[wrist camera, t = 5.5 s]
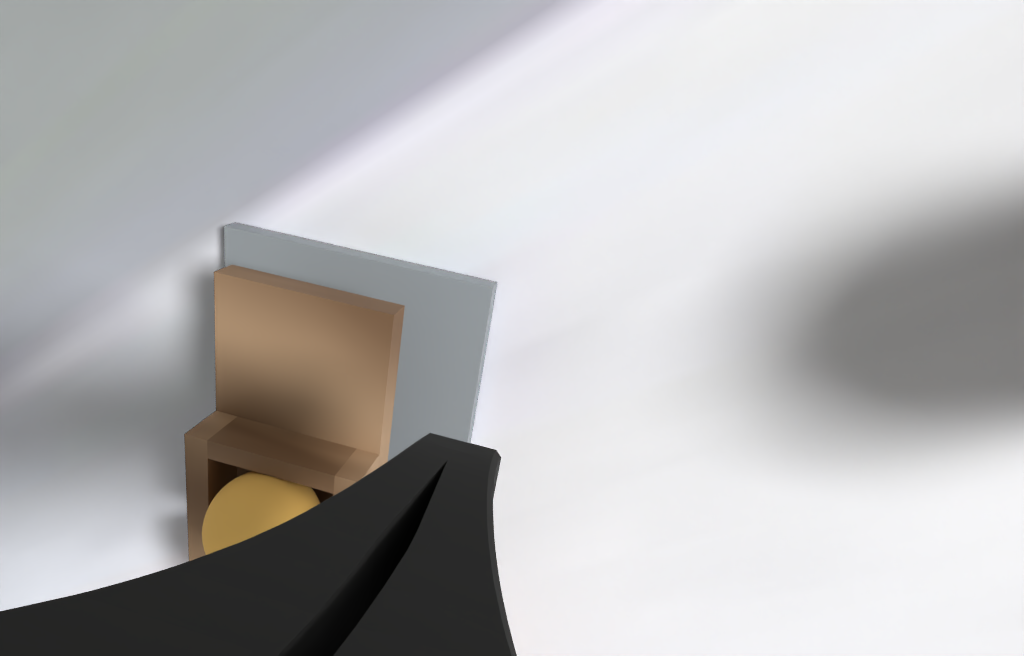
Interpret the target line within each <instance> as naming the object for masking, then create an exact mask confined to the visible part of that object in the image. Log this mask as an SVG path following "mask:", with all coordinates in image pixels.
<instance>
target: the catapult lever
mask: <svg viewBox="0 0 1024 656" xmlns="http://www.w3.org/2000/svg"><path fill="white" fill-rule="evenodd" d="M214 297H215V370H216V411H215V412H214V413H212V414H211V415H210V416H208V417H207V418H206V419H204V420H203V421H201V422H200V423H199V424H197V425H196V426H195V427H193V428H192V429H191V430H189V431H188V432H187V433H185V434H184V436H185V464H186V491H187V519H188V546H189V561H191V560H194V559H197V558H199V557H202V556H205V555H206V554H205V551H204V547H203V542H202V526H203V521H204V518H205V514H206V512H207V509H208V507H209V505H210V503H211V502H212V500H213V499H214V497H215V496H216V495H217V493H218V492H219V491H220V490H221V489H222V488H223V487H224V486H225V485H227V484H228V483H229V482H230V481H232V480H233V479H235V478H237V477H239V476H241V475H243V474H245V473H248V472H251V471H254V472H258V473H261V474H265V475H268V476H272V477H276V478H279V479H283V480H286V481H290V482H293V483H297V484H300V485H304V486H308V487H311V488H312V489H313V490H314V492H315V493H316V495H317V497H318V499H319V501H320V503H322V502H323V501H325V500H327V499H329V498H330V497H332V496H334V495H336V494H337V493H339V492H341V491H343V490H344V489H346V488H348V487H349V486H351V485H352V484H354V483H355V482H357V481H359V480H360V479H362V478H363V477H365V476H366V475H368V474H370V473H371V472H373V471H374V470H376V469H377V468H379V467H380V466H382V465H383V464H385V463H386V462H388V453H389V444H390V435H391V426H392V417H393V408H394V399H395V390H396V381H397V372H398V363H399V354H400V345H401V336H402V327H403V318H404V308H405V305H401V304H396V303H392V302H388V301H384V300H380V299H375V298H371V297H367V296H363V295H359V294H354V293H350V292H346V291H342V290H337V289H333V288H329V287H325V286H321V285H316V284H312V283H308V282H304V281H300V280H295V279H291V278H287V277H283V276H279V275H274V274H270V273H266V272H262V271H258V270H253V269H249V268H245V267H241V266H236V265H229V266H227V267H225V268H222V269H220V270H217V271H215V272H214Z"/></svg>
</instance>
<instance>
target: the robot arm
mask: <svg viewBox="0 0 1024 656" xmlns="http://www.w3.org/2000/svg"><path fill="white" fill-rule="evenodd" d="M500 460H501V457H500V455H499V454H498V452H497V451H496V450H494V449H490V448H486V447H483V446H479V445H475V444H471V443H467V442H463V441H460V440H456V439H452V438H448V437H444V436H441V435H437V434H433V433H429V434H427V435H426V436H424V437H422V438H421V439H419V440H418V441H416V442H415V443H414V444H412V445H411V446H409V447H408V448H406V449H405V450H404V451H402V452H401V453H399V454H398V455H396V456H395V457H394V458H392V459H391V460H389V461H388V462H386V463H385V464H383V465H382V466H380V467H379V468H377V469H376V470H374V471H373V472H371V473H370V474H368V475H366V476H365V477H363V478H362V479H360V480H359V481H357V482H355V483H354V484H352V485H351V486H349V487H348V488H346V489H344V490H343V491H341V492H339V493H337V494H336V495H334V496H332V497H330V498H329V499H327V500H325V501H323V502H322V503H320V504H318V505H316V506H315V507H313V508H311V509H309V510H307V511H306V512H304V513H302V514H300V515H298V516H296V517H294V518H292V519H290V520H288V521H286V522H284V523H282V524H280V525H278V526H276V527H274V528H271V529H269V530H267V531H265V532H263V533H260V534H258V535H256V536H254V537H251V538H249V539H247V540H244V541H242V542H239V543H237V544H234V545H231V546H229V547H226V548H223V549H221V550H218V551H215V552H213V553H210V554H207V555H205V556H202V557H199V558H197V559H194V560H191V561H189V562H186V563H183V564H180V565H177V566H174V567H171V568H168V569H165V570H162V571H159V572H155V573H152V574H149V575H146V576H143V577H139V578H136V579H132V580H129V581H125V582H122V583H118V584H115V585H111V586H108V587H104V588H100V589H96V590H92V591H89V592H85V593H81V594H77V595H72V596H68V597H63V598H59V599H54V600H50V601H45V602H41V603H36V604H32V605H28V606H23V607H19V608H14V609H10V610H5V611H0V656H517V655H516V652H515V648H514V644H513V641H512V637H511V633H510V629H509V625H508V621H507V616H506V612H505V607H504V602H503V598H502V592H501V587H500V581H499V575H498V568H497V560H496V552H495V542H494V526H493V497H494V491H495V486H496V481H497V476H498V471H499V465H500Z"/></svg>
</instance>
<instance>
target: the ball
mask: <svg viewBox="0 0 1024 656" xmlns="http://www.w3.org/2000/svg"><path fill="white" fill-rule="evenodd" d="M318 504H320V501H319V499H318V497H317V495H316V493H315V492H314V490H313V489H312V488H311V487H308V486H304V485H300V484H297V483H293V482H290V481H286V480H283V479H279V478H276V477H272V476H268V475H265V474H261V473H258V472H254V471H251V472H248V473H245V474H243V475H241V476H239V477H237V478H235V479H233V480H232V481H230V482H229V483H228V484H227V485H225V486H224V487H223V488H222V489H221V490H220V491H219V492H218V493H217V495H216V496H215V497H214V499H213V500H212V502H211V503H210V505H209V507H208V509H207V512H206V514H205V518H204V521H203V526H202V542H203V547H204V551H205V554H206V555H207V554H210V553H213V552H215V551H218V550H221V549H223V548H226V547H229V546H231V545H234V544H237V543H239V542H242V541H244V540H247V539H249V538H251V537H254V536H256V535H258V534H260V533H263V532H265V531H267V530H269V529H271V528H274V527H276V526H278V525H280V524H282V523H284V522H286V521H288V520H290V519H292V518H294V517H296V516H298V515H300V514H302V513H304V512H306V511H307V510H309V509H311V508H313V507H315V506H316V505H318Z"/></svg>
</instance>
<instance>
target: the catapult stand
mask: <svg viewBox="0 0 1024 656" xmlns="http://www.w3.org/2000/svg"><path fill="white" fill-rule="evenodd" d="M224 257H225V267H227V266H229V265H236V266H241V267H245V268H249V269H253V270H258V271H262V272H266V273H270V274H274V275H279V276H283V277H287V278H291V279H295V280H300V281H304V282H308V283H312V284H316V285H321V286H325V287H329V288H333V289H337V290H342V291H346V292H350V293H354V294H359V295H363V296H367V297H371V298H375V299H380V300H384V301H388V302H392V303H396V304H401V305H405V308H404V318H403V327H402V336H401V345H400V354H399V363H398V372H397V381H396V390H395V399H394V408H393V417H392V426H391V435H390V444H389V453H388V461H389V460H391V459H392V458H394V457H395V456H396V455H398V454H399V453H401V452H402V451H404V450H405V449H406V448H408V447H409V446H411V445H412V444H414V443H415V442H416V441H418V440H419V439H421V438H422V437H424V436H426V435H427V434H429V433H433V434H437V435H441V436H444V437H448V438H452V439H456V440H460V441H463V442H467V443H470V442H471V436H472V430H473V424H474V418H475V412H476V406H477V400H478V394H479V388H480V382H481V376H482V370H483V364H484V358H485V353H486V347H487V341H488V335H489V329H490V323H491V317H492V311H493V305H494V299H495V293H496V287H497V282H494V281H490V280H485V279H481V278H477V277H472V276H468V275H463V274H459V273H455V272H450V271H446V270H442V269H437V268H433V267H428V266H424V265H420V264H415V263H411V262H407V261H402V260H398V259H393V258H389V257H385V256H380V255H376V254H372V253H367V252H363V251H358V250H354V249H350V248H345V247H341V246H336V245H332V244H328V243H323V242H319V241H315V240H310V239H306V238H301V237H297V236H293V235H288V234H284V233H280V232H275V231H271V230H266V229H262V228H258V227H253V226H249V225H245V224H240V223H236V222H235V223H232V224H229V225H226V226H224Z"/></svg>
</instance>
